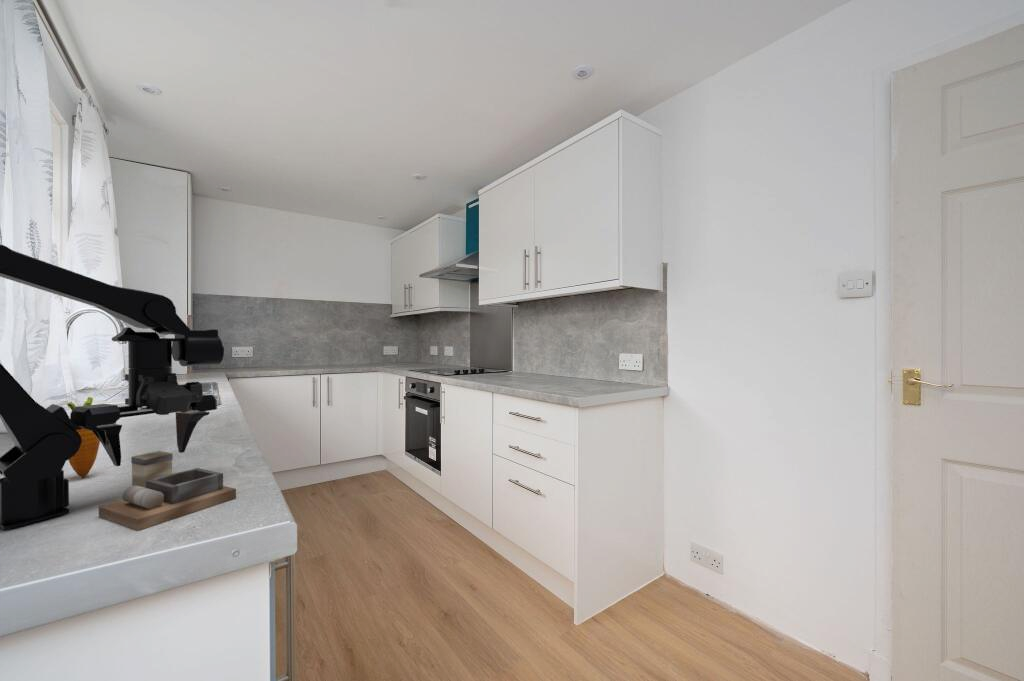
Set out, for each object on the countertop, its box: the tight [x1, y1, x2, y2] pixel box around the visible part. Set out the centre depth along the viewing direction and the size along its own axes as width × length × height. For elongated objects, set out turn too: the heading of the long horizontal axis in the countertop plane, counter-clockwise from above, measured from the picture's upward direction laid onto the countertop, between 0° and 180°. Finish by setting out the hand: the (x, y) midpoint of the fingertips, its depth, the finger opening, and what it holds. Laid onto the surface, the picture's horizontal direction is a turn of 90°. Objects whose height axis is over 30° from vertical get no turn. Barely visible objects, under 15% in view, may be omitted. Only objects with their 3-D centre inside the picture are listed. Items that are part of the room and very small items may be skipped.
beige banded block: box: [130, 450, 173, 488], centre depth 74 cm, size 4×4×6 cm
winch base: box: [98, 467, 237, 531], centre depth 66 cm, size 13×11×4 cm
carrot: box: [66, 396, 101, 478], centre depth 81 cm, size 5×5×15 cm
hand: (151, 458), depth 74 cm, fingers open, 9 cm apart
